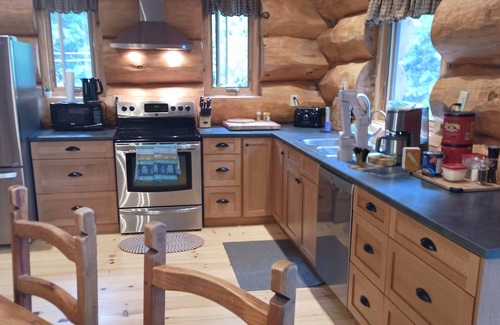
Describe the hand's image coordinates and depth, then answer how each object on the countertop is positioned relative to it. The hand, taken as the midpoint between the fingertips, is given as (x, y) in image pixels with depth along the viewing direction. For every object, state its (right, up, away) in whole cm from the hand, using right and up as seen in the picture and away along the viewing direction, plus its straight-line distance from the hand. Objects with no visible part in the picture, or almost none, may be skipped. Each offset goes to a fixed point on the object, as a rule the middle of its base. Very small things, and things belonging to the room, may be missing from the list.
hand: (361, 161), depth 253 cm
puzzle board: (+8, -4, +6) cm, 10 cm away
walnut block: (0, -2, +1) cm, 2 cm away
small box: (+27, -6, -3) cm, 27 cm away
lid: (+19, +3, +11) cm, 22 cm away
